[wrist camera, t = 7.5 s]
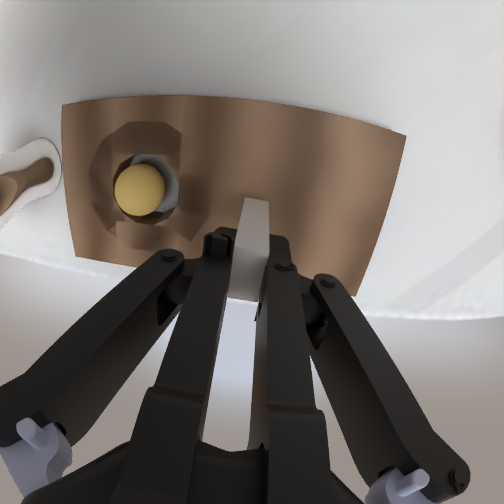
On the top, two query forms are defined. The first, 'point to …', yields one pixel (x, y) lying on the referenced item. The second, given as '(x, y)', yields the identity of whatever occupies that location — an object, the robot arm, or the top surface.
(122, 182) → the ball
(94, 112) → the board
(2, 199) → the beer glass
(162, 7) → the top surface
